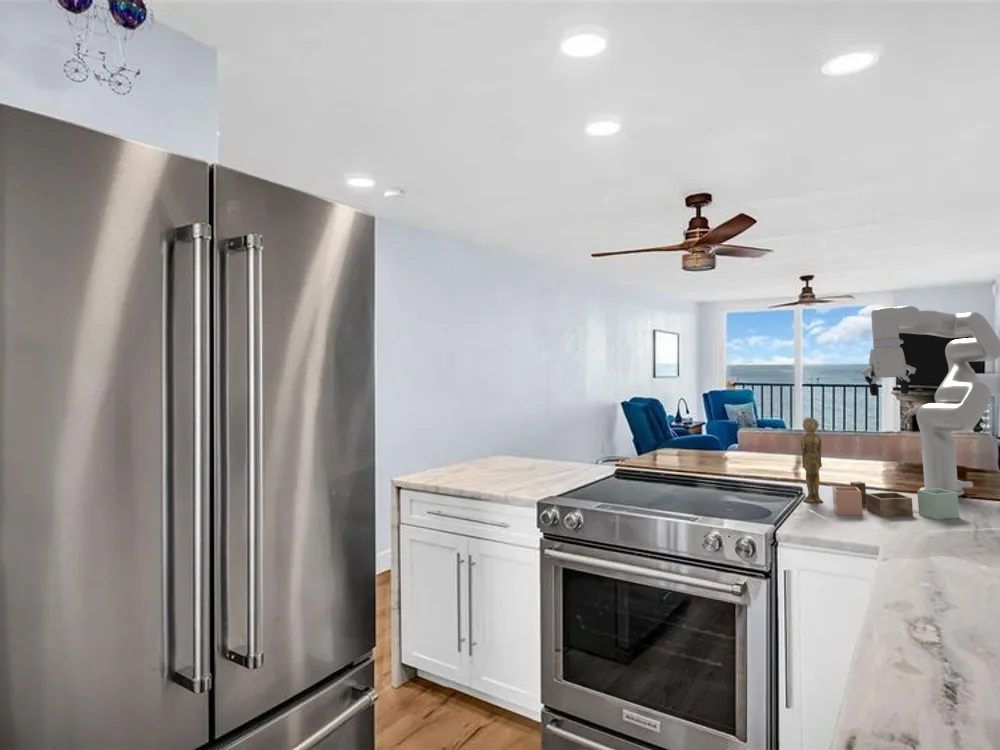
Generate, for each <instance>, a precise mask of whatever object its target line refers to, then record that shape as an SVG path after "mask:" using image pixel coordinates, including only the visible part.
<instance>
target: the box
mask: <svg viewBox="0 0 1000 750" xmlns="http://www.w3.org/2000/svg"><path fill="white" fill-rule="evenodd" d="M866 502H867V508H866V511H867V512H869V513H872V514H873V515H877V516H878V517H881V518H890V517H891V518H893V517H896V518H897V517H914V513H913V510H914V509H913V498H912V497H911V496H907V495H904V494H902V493H899V492H897V491H896V492H895V491H892V492H868V493H867V492H866Z"/></svg>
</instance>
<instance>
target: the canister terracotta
mask: <svg viewBox="0 0 1000 750" xmlns="http://www.w3.org/2000/svg"><path fill="white" fill-rule="evenodd" d="M832 500H833V501H832V504H833V511H834V512H835V513H836V515H837V516H839V515H840V516H863V515H864V514H863V511H864V510H863V508H862V496H861V491H860V490H859V489H858V488H857V487H851V486H832Z"/></svg>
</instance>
